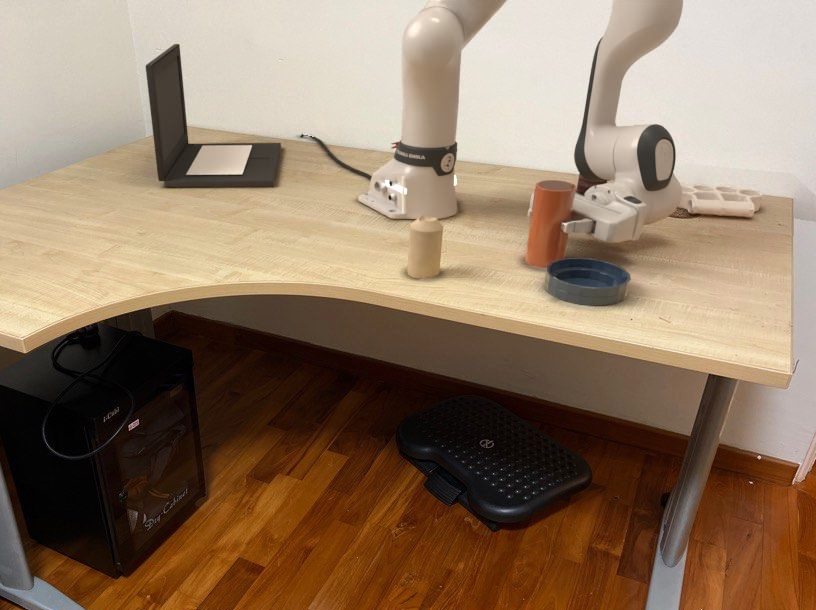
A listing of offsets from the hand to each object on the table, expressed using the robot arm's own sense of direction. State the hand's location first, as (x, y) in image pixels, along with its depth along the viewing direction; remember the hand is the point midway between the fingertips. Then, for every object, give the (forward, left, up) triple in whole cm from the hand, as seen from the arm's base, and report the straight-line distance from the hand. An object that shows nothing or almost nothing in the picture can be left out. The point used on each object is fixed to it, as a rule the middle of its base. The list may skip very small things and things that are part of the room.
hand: (546, 220), depth 131 cm
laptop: (-92, -8, -8) cm, 93 cm away
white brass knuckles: (+3, +54, -8) cm, 55 cm away
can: (-20, +44, -8) cm, 49 cm away
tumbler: (0, +1, -8) cm, 8 cm away
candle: (-10, -19, -8) cm, 23 cm away
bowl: (+12, -4, -8) cm, 15 cm away
